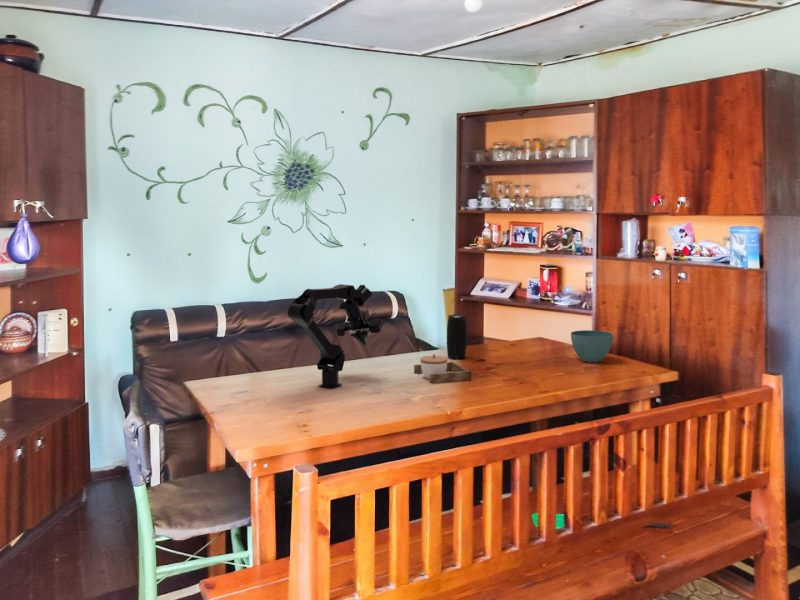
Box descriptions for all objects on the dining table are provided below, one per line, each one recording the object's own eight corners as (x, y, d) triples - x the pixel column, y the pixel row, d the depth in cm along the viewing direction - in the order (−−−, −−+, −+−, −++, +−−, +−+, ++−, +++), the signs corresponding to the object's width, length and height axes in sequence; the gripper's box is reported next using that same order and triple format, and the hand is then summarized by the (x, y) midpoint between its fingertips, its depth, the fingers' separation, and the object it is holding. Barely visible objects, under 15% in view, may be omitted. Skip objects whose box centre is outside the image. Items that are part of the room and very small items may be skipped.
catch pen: (430, 383, 277) (430, 374, 276) (414, 373, 294) (414, 365, 293) (471, 380, 282) (471, 371, 282) (452, 370, 299) (452, 362, 299)
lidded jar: (448, 374, 291) (448, 352, 290) (446, 381, 281) (446, 357, 280) (421, 374, 293) (421, 351, 292) (418, 380, 282) (419, 356, 281)
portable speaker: (453, 355, 330) (454, 313, 327) (470, 357, 324) (471, 315, 322) (442, 358, 323) (443, 315, 321) (459, 360, 317) (460, 317, 315)
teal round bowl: (561, 358, 322) (562, 331, 321) (593, 355, 330) (594, 328, 328) (588, 366, 306) (589, 338, 305) (621, 362, 314) (622, 335, 312)
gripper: (381, 299, 283) (392, 331, 291) (339, 303, 290) (351, 334, 298) (373, 315, 274) (385, 347, 282) (329, 319, 281) (342, 351, 289)
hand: (365, 344), depth 288 cm, fingers closed
